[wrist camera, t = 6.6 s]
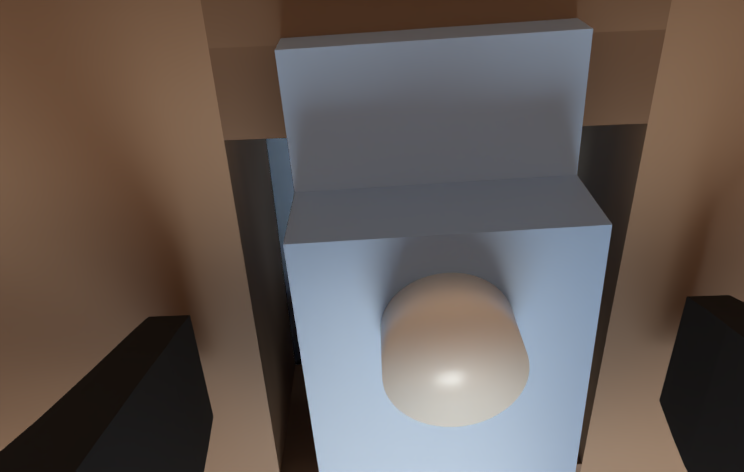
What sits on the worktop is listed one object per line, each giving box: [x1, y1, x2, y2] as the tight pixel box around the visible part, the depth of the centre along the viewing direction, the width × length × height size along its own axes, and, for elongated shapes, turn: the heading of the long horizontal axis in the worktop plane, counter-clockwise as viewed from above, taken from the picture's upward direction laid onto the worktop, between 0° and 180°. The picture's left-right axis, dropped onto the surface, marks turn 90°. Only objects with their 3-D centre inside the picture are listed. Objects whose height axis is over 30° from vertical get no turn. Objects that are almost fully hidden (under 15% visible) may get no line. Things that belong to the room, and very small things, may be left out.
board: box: [0, 0, 744, 472], centre depth 11 cm, size 12×16×3 cm
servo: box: [275, 18, 612, 472], centre depth 10 cm, size 9×4×6 cm, turn 4°
